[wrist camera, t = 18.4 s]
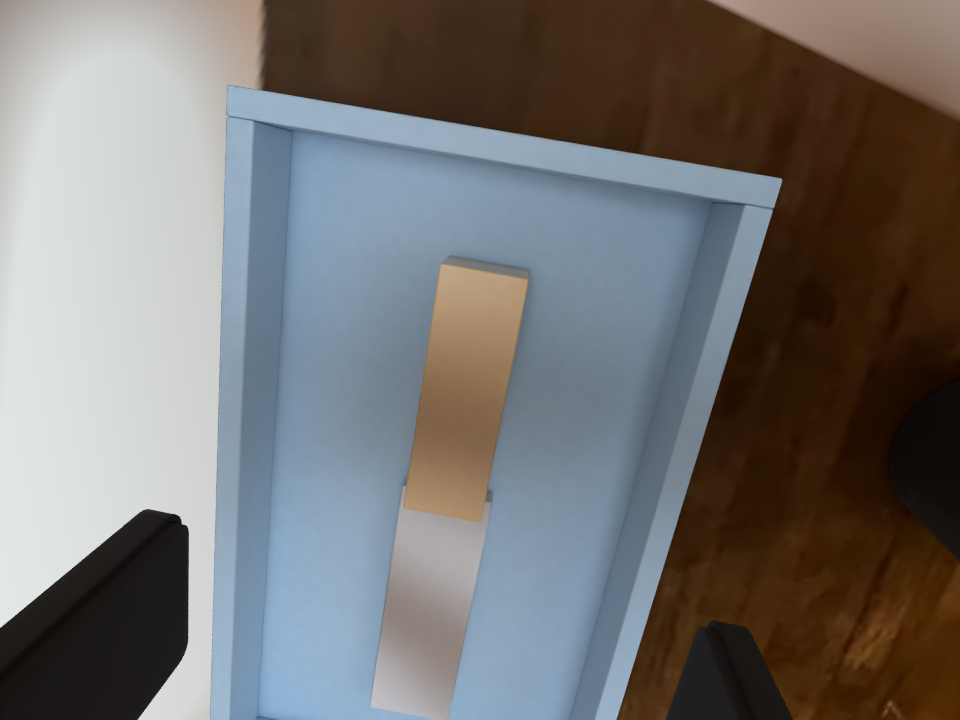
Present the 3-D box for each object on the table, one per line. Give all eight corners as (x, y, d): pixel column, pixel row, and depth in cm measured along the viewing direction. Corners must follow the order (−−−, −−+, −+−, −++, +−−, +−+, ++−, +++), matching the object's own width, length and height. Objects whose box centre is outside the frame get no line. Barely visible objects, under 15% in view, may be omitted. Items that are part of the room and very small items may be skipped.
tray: (281, 104, 17) (225, 84, 14) (733, 180, 16) (783, 178, 13) (249, 708, 24) (207, 788, 20) (566, 768, 23) (574, 859, 20)
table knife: (439, 252, 17) (428, 260, 15) (538, 270, 17) (540, 281, 15) (373, 692, 22) (359, 740, 20) (449, 706, 22) (443, 756, 20)
